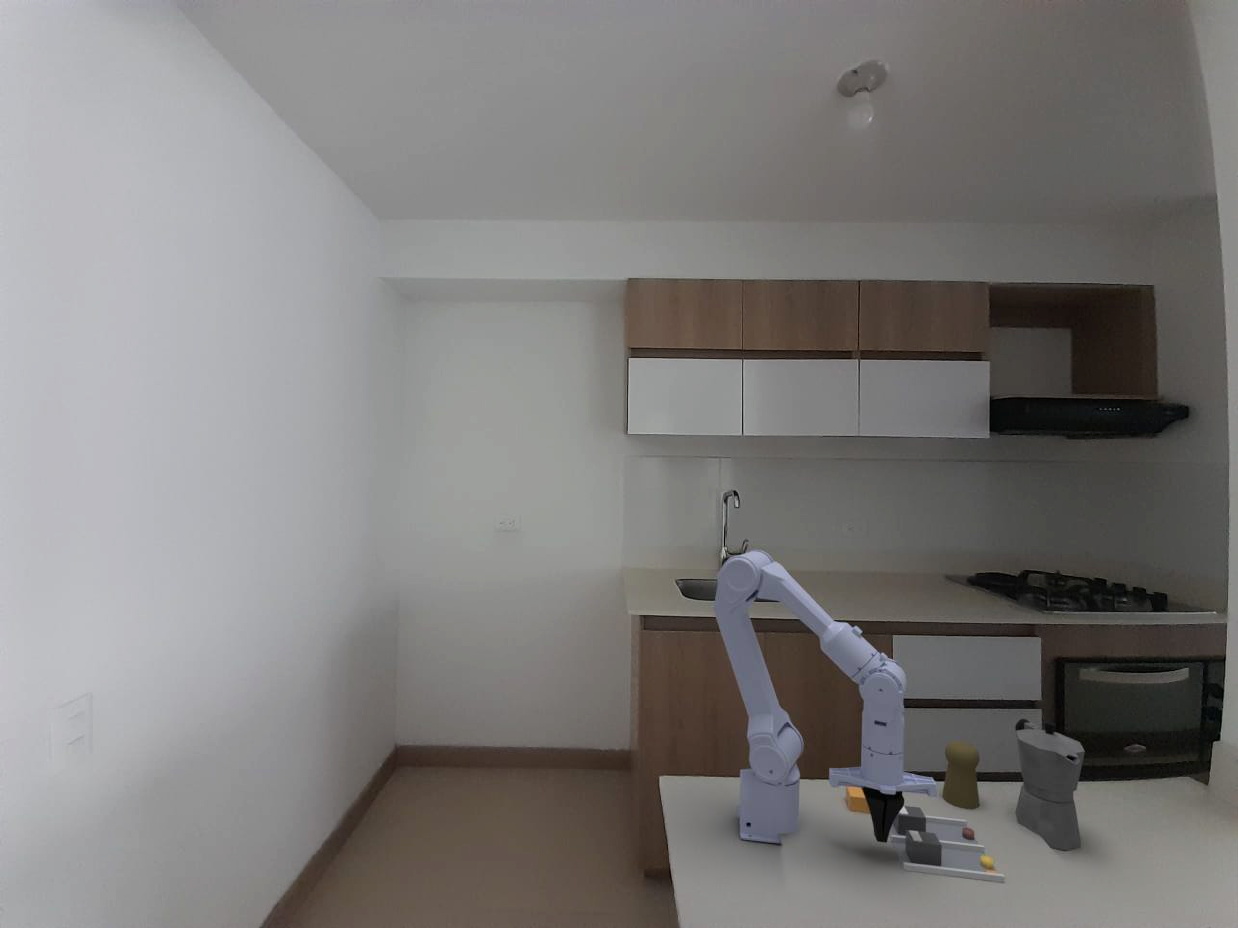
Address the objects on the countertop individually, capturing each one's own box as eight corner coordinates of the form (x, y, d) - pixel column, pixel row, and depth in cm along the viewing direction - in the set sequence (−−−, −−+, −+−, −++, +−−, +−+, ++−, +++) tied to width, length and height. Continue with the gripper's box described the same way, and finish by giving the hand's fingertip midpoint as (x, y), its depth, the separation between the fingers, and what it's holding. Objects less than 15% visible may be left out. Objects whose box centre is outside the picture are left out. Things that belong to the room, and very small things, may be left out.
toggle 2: (911, 862, 91) (911, 840, 91) (905, 849, 94) (905, 828, 94) (941, 866, 90) (941, 844, 90) (934, 853, 93) (934, 831, 93)
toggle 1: (898, 834, 98) (898, 813, 98) (892, 823, 101) (893, 803, 101) (925, 837, 97) (926, 816, 97) (919, 826, 100) (920, 806, 100)
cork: (986, 820, 105) (988, 754, 105) (946, 815, 106) (948, 750, 106) (973, 801, 111) (975, 739, 111) (936, 797, 112) (937, 735, 112)
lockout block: (850, 820, 104) (850, 796, 104) (845, 807, 108) (846, 784, 108) (875, 823, 103) (876, 798, 103) (869, 810, 107) (870, 786, 107)
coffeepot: (1106, 861, 95) (1109, 741, 95) (1040, 857, 95) (1044, 738, 95) (1043, 805, 110) (1046, 702, 110) (987, 802, 111) (990, 699, 111)
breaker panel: (903, 880, 89) (904, 862, 89) (879, 824, 103) (880, 809, 103) (1004, 893, 87) (1004, 874, 87) (965, 834, 101) (966, 818, 101)
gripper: (835, 753, 90) (833, 848, 90) (944, 763, 88) (942, 861, 88) (827, 732, 97) (825, 821, 97) (928, 741, 95) (926, 831, 95)
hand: (880, 838), depth 93 cm, fingers closed
